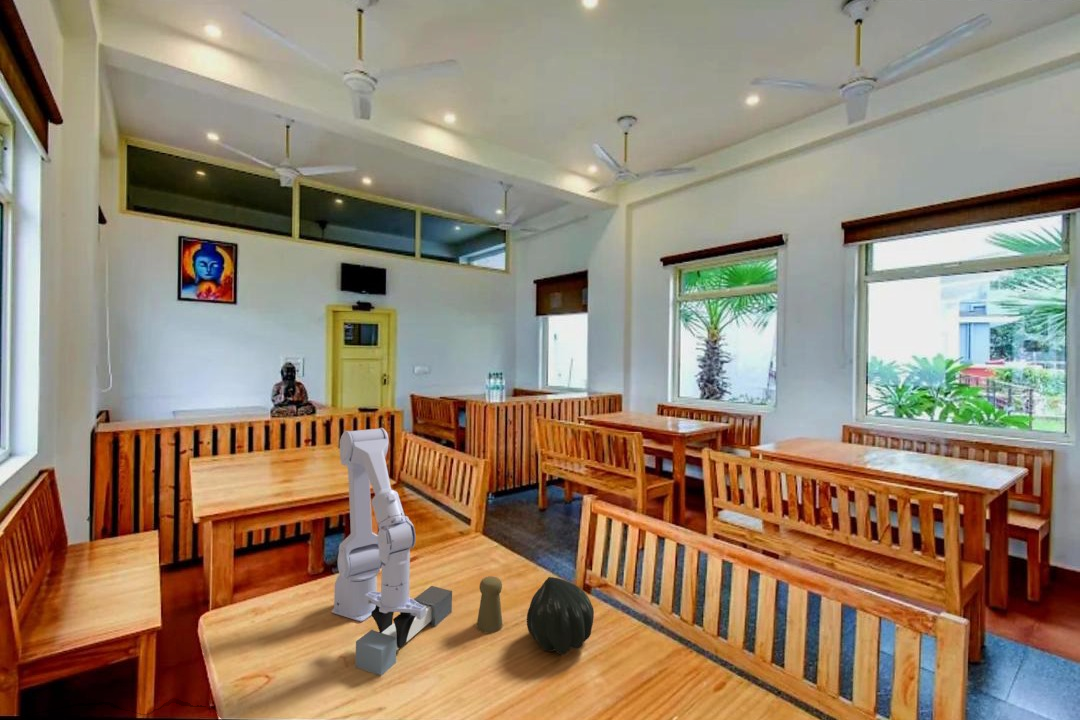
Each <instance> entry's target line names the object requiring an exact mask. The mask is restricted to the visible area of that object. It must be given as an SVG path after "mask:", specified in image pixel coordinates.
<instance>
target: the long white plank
mask: <svg viewBox="0 0 1080 720" xmlns="http://www.w3.org/2000/svg"><path fill="white" fill-rule="evenodd" d="M419 604H421V605H424V606H426V615H425V616H424V617H423V618H422V619H421V620H419V619H417V618H416V617H415V619H414V621H413V623H412V625H411V627H410V630H409V633H408V637H407V641H406V643H408V642H409V641H410V640H411V639H412V638H413V637H414V636H416V635H417V634H418V633H419V632H420V631H421V630H422V629H424V628H425V627H426V626H428V625H427V624H428V623H429V622H431V621H432V608H433V606H432V605H428V604H425V603H421V602H420V603H419ZM382 633H384V634H387V635H390V636H393V637H396V638H397V633H396V627H395V624H394V622H392V625H391V626H389V627H388V628H387V629H385V630H384V631H383V632H382ZM399 649H400V648H397V639H396V652H398V650H399Z"/></svg>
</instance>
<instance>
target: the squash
mask: <svg viewBox="0 0 1080 720" xmlns="http://www.w3.org/2000/svg"><path fill="white" fill-rule="evenodd" d="M594 611H595V610H594V607H593V603H592V602H591V600H590V598H589V596H588V595H587V593H586V592H585V591H584V589H582V588H581V587H580V586H578V585H577V584H575V583H572V582H570V581H567V580H565V579H562V578H559V577H553V576H552V577H551V576H548V577H547V579H545V580H544V582H543V583H542V585H541V586H540V588H538V589H537V591H536V592H535V593H534V595H533V596H532V598H531V600H530V604H529V607H528V610H527V613H526V628H527V630H528V633H529V634H530V636H531V637H532V639H534V640H535V641H536V642H537V643H538V645H539V646H540V647H541V648H542V650H544V651H546V652H553V651H555V652H556V653H557V654H559V655H566V654H567V653H568V652H569V651H570V649H574V650H578V649H580V648H582V646H583V644H584V642H586V641H587V640H589V638H590V636H591V635H592V629H593V625H594V618H595V617H594V616H595V614H594V613H595V612H594Z"/></svg>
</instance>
